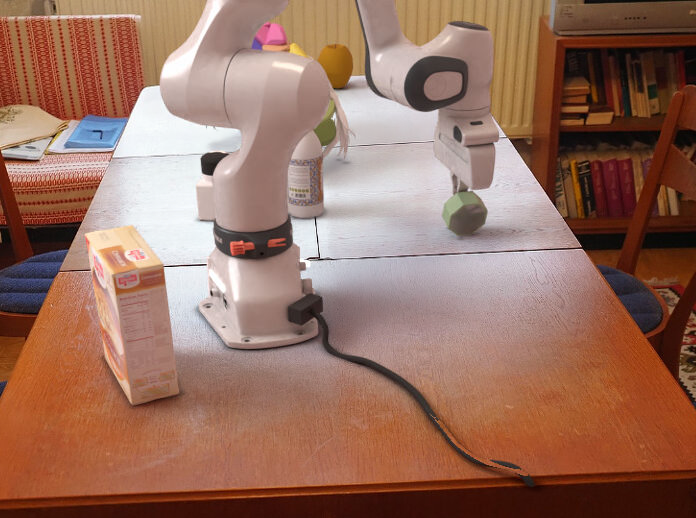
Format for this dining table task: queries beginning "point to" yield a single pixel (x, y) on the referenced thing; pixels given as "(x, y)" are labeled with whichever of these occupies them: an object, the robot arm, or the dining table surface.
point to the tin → (464, 213)
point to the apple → (336, 64)
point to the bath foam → (306, 178)
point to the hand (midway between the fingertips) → (459, 197)
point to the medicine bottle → (207, 184)
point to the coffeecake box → (133, 313)
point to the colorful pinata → (326, 131)
